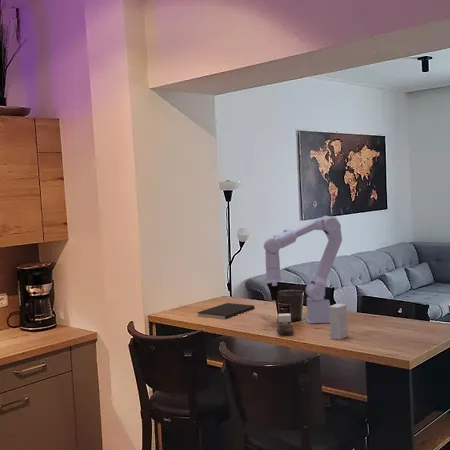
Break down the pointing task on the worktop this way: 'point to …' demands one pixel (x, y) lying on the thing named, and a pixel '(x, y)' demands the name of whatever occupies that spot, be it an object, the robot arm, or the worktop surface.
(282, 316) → the rider
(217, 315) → the hardcover book
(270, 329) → the worktop surface
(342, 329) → the skincare box
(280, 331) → the beam
